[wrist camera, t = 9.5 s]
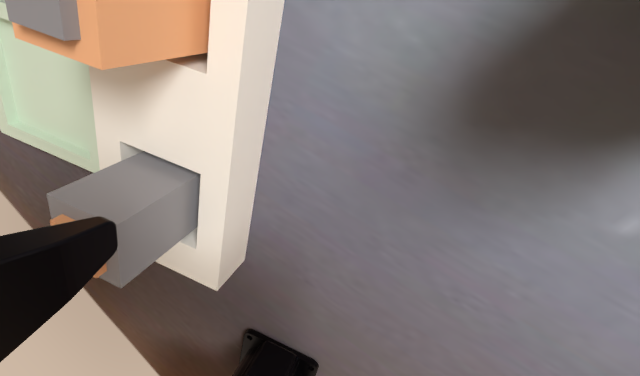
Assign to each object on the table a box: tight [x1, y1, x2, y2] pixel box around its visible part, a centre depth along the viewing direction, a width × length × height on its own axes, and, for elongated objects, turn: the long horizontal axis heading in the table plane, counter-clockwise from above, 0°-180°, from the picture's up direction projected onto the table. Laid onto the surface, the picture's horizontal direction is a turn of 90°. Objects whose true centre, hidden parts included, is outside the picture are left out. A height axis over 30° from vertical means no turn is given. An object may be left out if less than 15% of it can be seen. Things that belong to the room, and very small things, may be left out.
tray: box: [0, 0, 100, 173], centre depth 25 cm, size 10×10×1 cm
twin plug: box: [47, 151, 201, 288], centre depth 20 cm, size 4×4×9 cm
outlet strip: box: [89, 0, 285, 291], centre depth 20 cm, size 22×9×4 cm, turn 166°
